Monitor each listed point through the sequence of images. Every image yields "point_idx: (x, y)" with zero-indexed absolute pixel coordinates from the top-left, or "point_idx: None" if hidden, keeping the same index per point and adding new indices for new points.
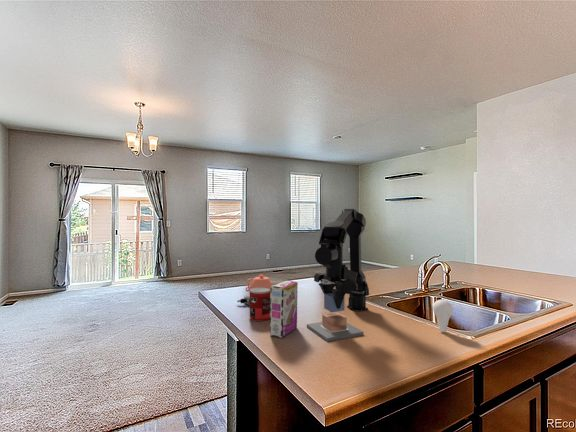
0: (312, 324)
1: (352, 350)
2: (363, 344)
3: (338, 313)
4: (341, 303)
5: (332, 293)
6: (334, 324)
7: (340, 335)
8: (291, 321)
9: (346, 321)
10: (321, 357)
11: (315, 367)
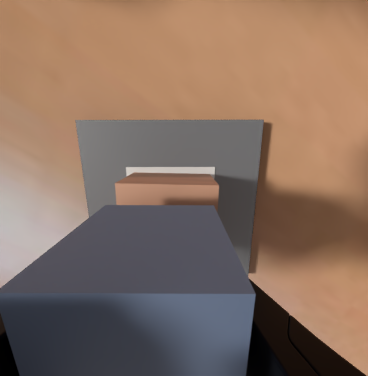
0: None
1: (337, 239)
2: (325, 181)
3: (137, 188)
4: (252, 284)
5: (52, 373)
6: None
7: (249, 228)
8: None
9: (215, 181)
10: (320, 327)
11: (351, 357)
